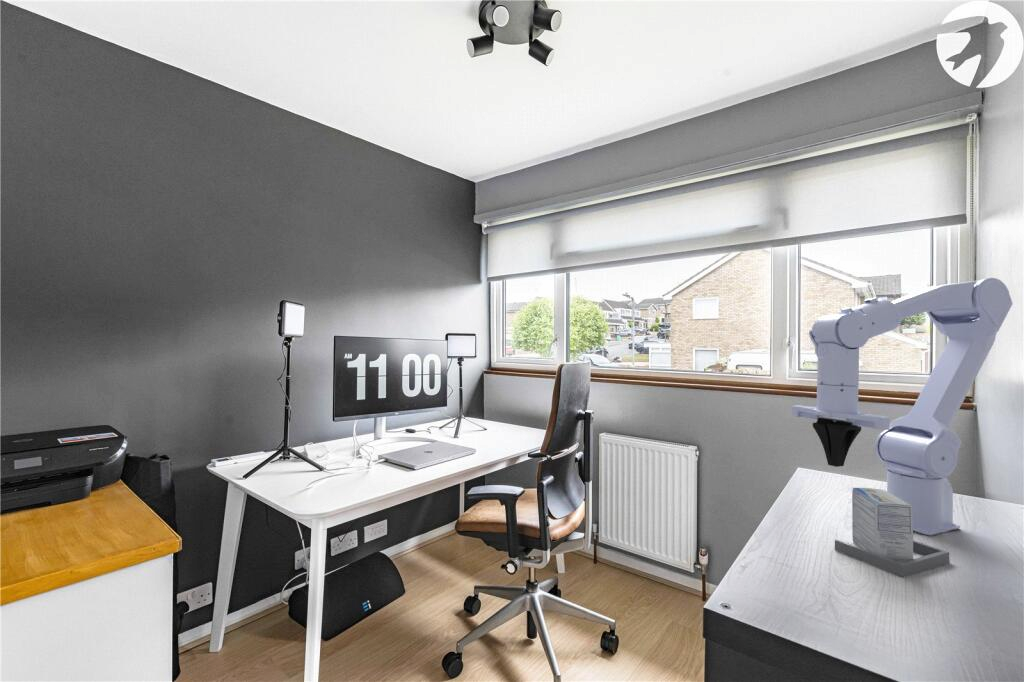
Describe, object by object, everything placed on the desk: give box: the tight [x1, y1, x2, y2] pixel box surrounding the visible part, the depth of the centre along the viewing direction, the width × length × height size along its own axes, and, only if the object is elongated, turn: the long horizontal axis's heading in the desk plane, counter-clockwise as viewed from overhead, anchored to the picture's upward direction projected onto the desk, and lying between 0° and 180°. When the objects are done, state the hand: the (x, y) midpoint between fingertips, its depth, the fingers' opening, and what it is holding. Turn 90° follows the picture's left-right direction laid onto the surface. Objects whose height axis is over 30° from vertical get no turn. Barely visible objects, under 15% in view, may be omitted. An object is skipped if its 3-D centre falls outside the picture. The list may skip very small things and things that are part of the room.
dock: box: [834, 538, 950, 578], centre depth 66 cm, size 11×9×2 cm
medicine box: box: [851, 487, 914, 563], centre depth 66 cm, size 8×4×9 cm, turn 164°
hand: (835, 465), depth 76 cm, fingers closed
